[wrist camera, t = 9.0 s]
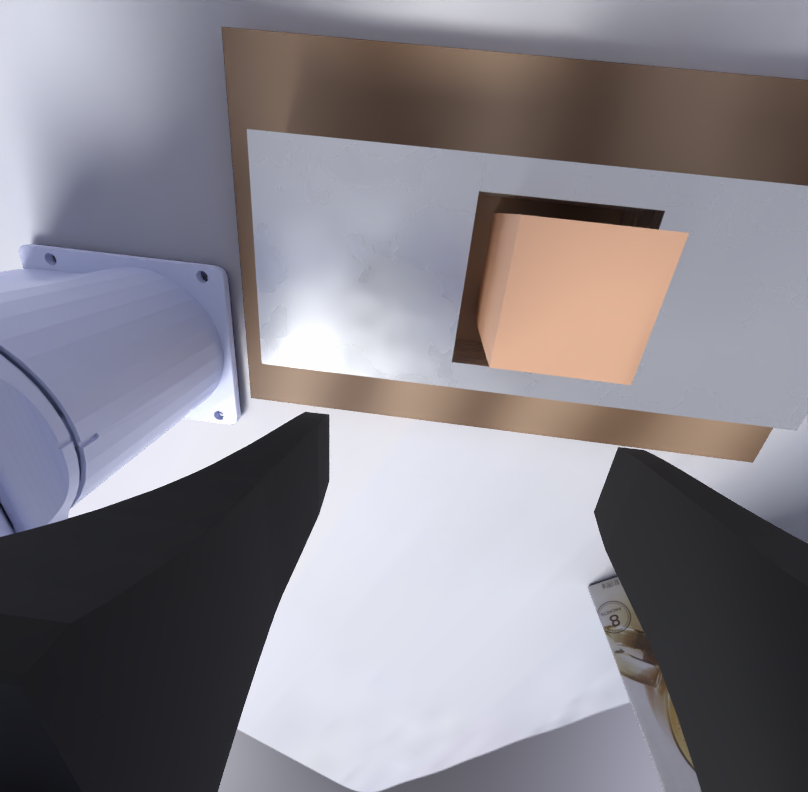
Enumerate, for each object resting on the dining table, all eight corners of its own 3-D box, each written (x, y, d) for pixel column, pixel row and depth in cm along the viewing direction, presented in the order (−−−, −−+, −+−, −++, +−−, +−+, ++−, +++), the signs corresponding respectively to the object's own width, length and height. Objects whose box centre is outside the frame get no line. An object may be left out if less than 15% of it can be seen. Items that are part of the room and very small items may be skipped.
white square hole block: (289, 340, 18) (261, 363, 15) (283, 143, 15) (246, 128, 12) (741, 395, 17) (796, 430, 14) (841, 201, 14) (938, 199, 11)
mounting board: (259, 389, 20) (250, 397, 19) (235, 38, 14) (221, 26, 13) (738, 450, 19) (752, 462, 18) (931, 102, 13) (966, 94, 12)
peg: (474, 316, 17) (489, 367, 11) (492, 212, 15) (521, 214, 10) (569, 328, 17) (630, 385, 11) (599, 224, 15) (689, 232, 9)
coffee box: (744, 527, 21) (1395, 1215, 7) (777, 600, 23) (1336, 1253, 9) (581, 584, 24) (792, 1154, 10) (623, 644, 26) (851, 1194, 12)
